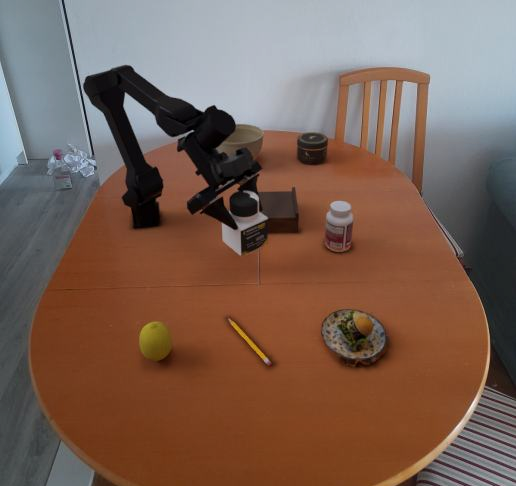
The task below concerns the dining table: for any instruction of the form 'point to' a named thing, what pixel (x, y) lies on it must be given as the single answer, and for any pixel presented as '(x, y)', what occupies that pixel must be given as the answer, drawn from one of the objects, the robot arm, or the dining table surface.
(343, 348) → the food bowl
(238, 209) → the medicine bottle
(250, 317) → the dining table surface
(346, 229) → the pill bottle
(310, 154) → the jar
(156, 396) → the dining table surface
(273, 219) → the dark brown lipped tray
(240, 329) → the pencil
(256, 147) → the planter bowl
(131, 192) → the robot arm
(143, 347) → the lemon
